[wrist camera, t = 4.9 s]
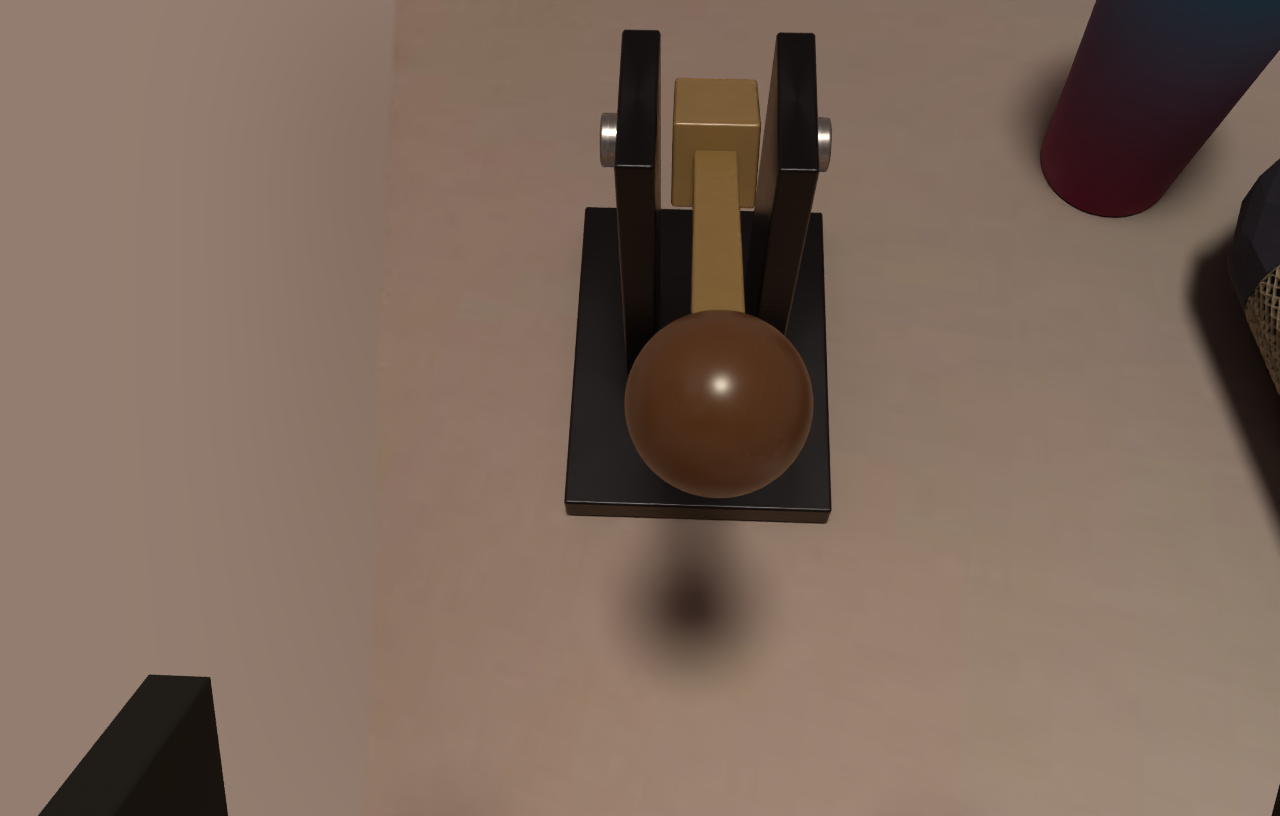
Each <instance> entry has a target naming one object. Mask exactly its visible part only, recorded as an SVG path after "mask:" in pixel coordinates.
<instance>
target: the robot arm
mask: <svg viewBox="0 0 1280 816" xmlns="http://www.w3.org/2000/svg"><path fill="white" fill-rule="evenodd" d="M38 816H228V812H227V804H226V796H225V789H224V781H223V773H222V765H221V757H220V750H219V743H218V735H217V727H216V718H215V711H214V704H213V695H212V688H211V679H210V677H194V676H170V675H148V677H147V678H146V679H145V680H144V682H143V683H142V684H141V685H140V687H139V688H138V689H137V691H136V692H135V693H134V694H133V696H132V697H131V698H130V699H129V701H128V702H127V703H126V705H125V706H124V707H123V709H122V710H121V711H120V712H119V713H118V715H117V716H116V717H115V718H114V720H113V721H112V722H111V724H110V725H109V726H108V727H107V729H106V730H105V731H104V733H103V734H102V735H101V736H100V738H99V739H98V740H97V741H96V743H95V744H94V745H93V746H92V748H91V749H90V750H89V752H88V753H87V754H86V755H85V757H84V758H83V759H82V760H81V762H80V763H79V764H78V766H77V767H76V768H75V769H74V771H73V772H72V773H71V774H70V776H69V777H68V778H67V780H66V781H65V782H64V783H63V785H62V786H61V787H60V788H59V790H58V791H57V792H56V794H55V795H54V796H53V797H52V799H51V800H50V801H49V802H48V804H47V805H46V806H45V807H44V809H43V810H42V811H41V813H40V814H39V815H38ZM1272 816H1280V785H1279V789H1278V793H1277V797H1276V801H1275V805H1274V809H1273V813H1272Z"/></svg>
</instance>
